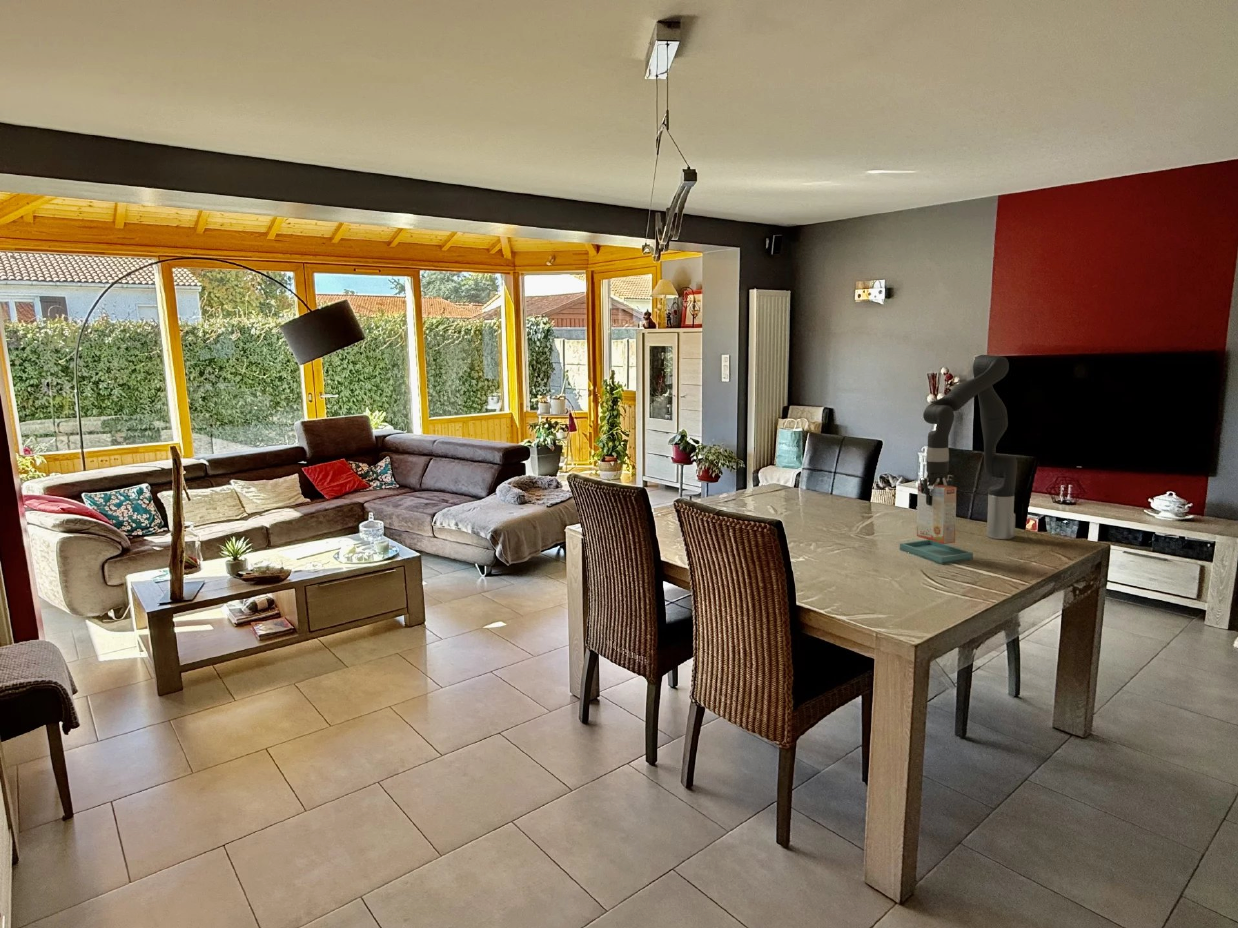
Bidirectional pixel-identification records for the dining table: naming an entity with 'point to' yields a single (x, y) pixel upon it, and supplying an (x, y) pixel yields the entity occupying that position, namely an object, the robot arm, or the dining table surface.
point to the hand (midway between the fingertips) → (936, 504)
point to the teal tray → (936, 551)
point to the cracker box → (937, 515)
